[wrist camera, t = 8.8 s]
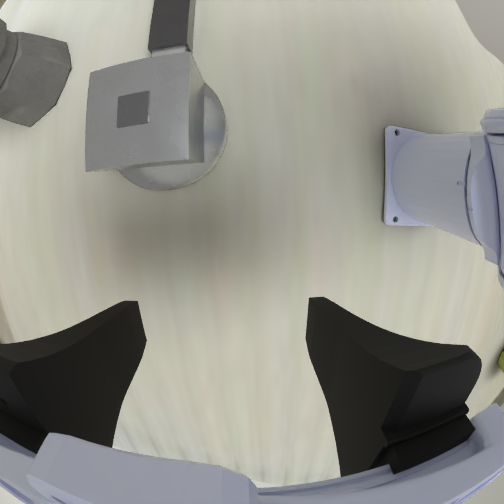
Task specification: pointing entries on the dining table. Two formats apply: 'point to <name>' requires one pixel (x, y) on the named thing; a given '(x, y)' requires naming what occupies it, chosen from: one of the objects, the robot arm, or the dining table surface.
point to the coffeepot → (30, 75)
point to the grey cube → (145, 114)
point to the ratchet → (215, 125)
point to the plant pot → (501, 361)
